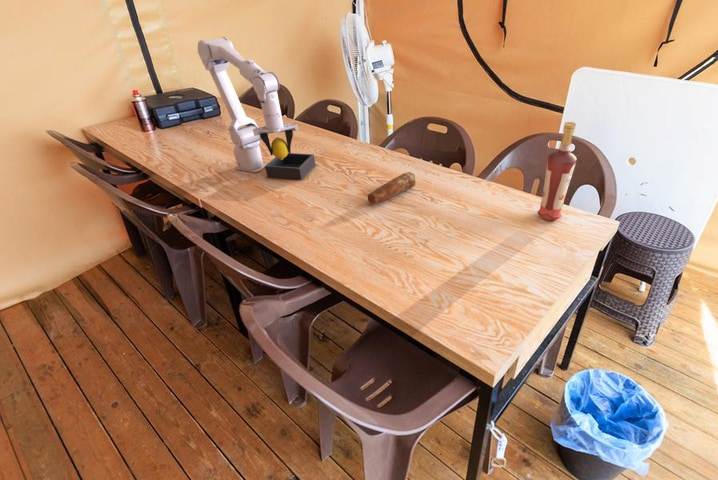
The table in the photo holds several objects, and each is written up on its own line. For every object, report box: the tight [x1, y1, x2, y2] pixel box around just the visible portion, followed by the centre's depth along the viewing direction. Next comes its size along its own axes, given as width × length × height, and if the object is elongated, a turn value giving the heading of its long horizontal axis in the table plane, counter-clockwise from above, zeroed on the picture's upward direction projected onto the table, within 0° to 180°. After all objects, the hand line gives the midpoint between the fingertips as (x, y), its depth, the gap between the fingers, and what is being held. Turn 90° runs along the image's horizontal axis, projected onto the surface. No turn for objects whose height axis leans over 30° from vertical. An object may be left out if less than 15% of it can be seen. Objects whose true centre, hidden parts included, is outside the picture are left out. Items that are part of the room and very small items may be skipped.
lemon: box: [270, 136, 289, 160], centre depth 140 cm, size 6×6×8 cm
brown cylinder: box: [367, 171, 416, 205], centre depth 133 cm, size 6×19×6 cm, turn 133°
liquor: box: [537, 121, 577, 222], centre depth 112 cm, size 7×7×28 cm
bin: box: [264, 152, 316, 181], centre depth 151 cm, size 14×14×4 cm
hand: (280, 153), depth 141 cm, fingers closed on lemon, 5 cm apart
